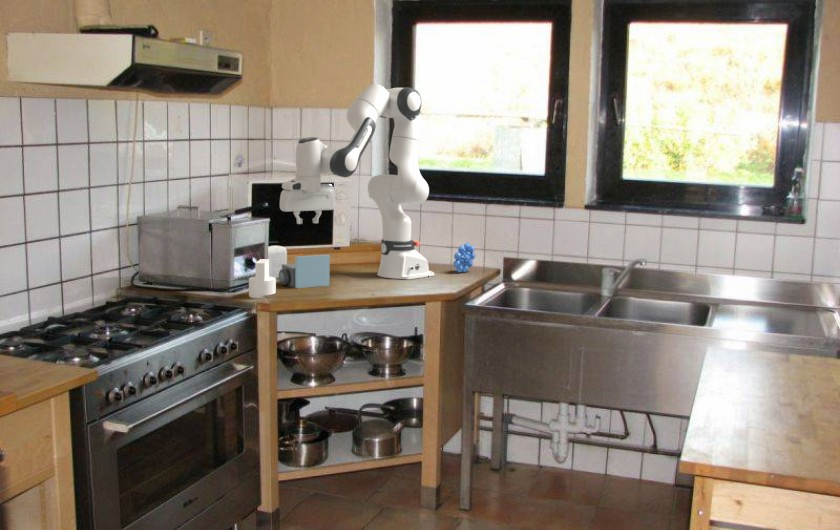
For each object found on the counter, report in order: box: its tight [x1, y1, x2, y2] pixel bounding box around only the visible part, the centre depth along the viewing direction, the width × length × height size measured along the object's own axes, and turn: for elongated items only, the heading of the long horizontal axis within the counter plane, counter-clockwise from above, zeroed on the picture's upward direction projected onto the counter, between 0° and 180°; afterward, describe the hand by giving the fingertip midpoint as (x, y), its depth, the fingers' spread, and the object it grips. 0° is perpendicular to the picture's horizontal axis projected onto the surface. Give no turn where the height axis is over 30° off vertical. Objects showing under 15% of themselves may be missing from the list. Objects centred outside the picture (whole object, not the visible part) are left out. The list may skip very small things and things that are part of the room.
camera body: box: [278, 263, 295, 288], centre depth 331 cm, size 16×9×9 cm, turn 123°
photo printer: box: [267, 245, 288, 279], centre depth 346 cm, size 10×4×12 cm, turn 134°
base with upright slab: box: [248, 258, 277, 299], centre depth 313 cm, size 9×9×12 cm
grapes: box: [453, 242, 476, 273], centre depth 371 cm, size 12×7×12 cm, turn 133°
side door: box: [294, 254, 331, 289], centre depth 326 cm, size 13×1×12 cm, turn 123°
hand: (307, 223), depth 327 cm, fingers open, 5 cm apart
